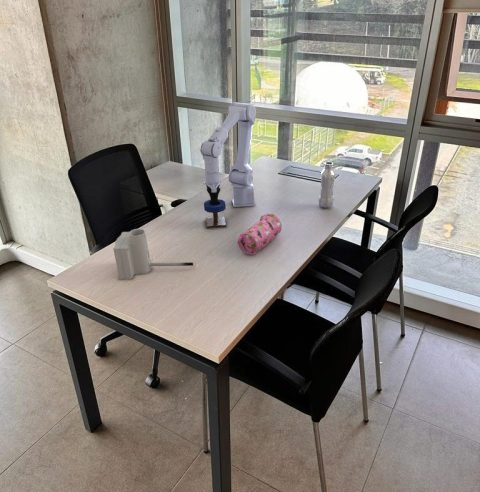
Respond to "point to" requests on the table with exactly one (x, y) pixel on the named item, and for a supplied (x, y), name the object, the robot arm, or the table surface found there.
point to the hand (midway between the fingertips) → (214, 202)
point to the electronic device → (135, 255)
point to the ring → (214, 206)
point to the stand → (215, 221)
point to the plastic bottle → (327, 186)
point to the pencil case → (259, 234)
